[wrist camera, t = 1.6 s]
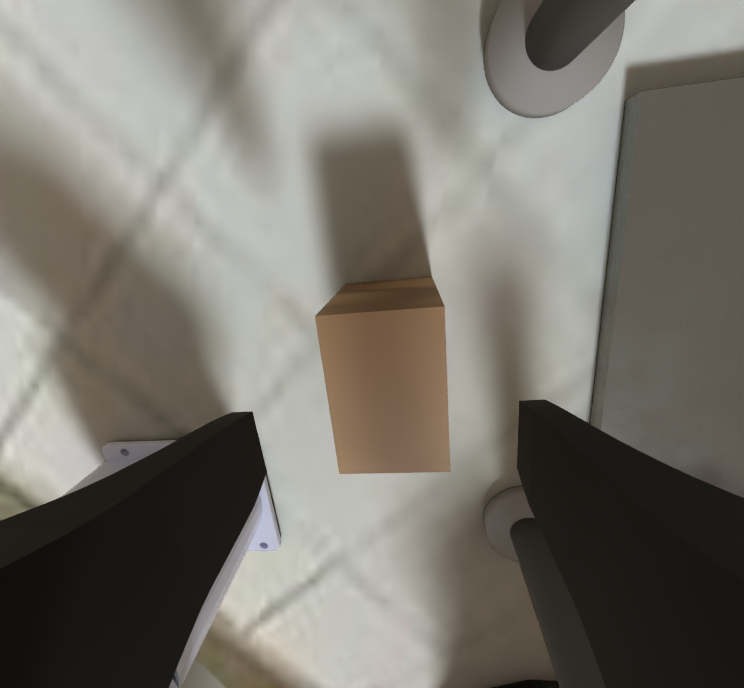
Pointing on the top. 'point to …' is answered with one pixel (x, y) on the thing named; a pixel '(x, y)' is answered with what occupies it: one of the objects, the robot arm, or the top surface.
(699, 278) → the grey slotted tray
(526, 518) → the post
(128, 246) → the top surface
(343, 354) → the plug block
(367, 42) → the top surface
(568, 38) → the stand
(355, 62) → the top surface
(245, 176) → the top surface
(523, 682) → the beer stein
